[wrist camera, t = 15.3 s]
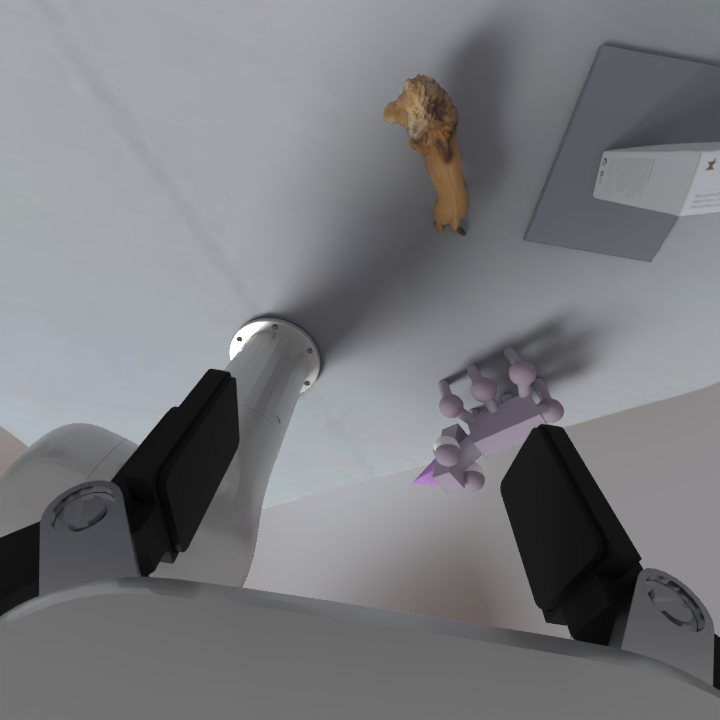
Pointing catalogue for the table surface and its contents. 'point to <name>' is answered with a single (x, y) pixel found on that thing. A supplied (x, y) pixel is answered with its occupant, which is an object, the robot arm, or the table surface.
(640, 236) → the mat
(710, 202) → the skincare box
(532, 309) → the table surface
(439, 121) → the lion figurine
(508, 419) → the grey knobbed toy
